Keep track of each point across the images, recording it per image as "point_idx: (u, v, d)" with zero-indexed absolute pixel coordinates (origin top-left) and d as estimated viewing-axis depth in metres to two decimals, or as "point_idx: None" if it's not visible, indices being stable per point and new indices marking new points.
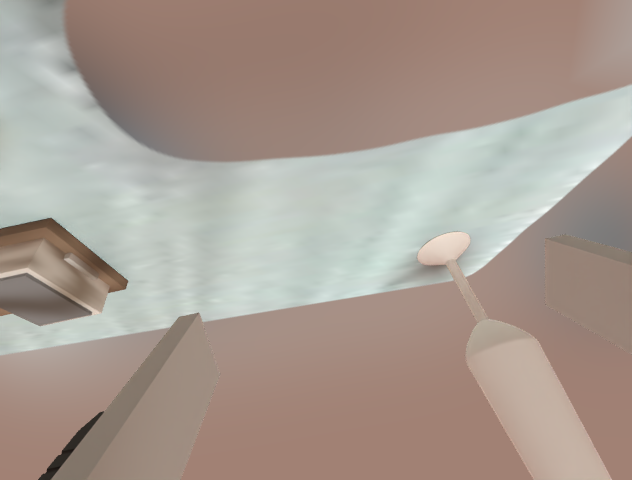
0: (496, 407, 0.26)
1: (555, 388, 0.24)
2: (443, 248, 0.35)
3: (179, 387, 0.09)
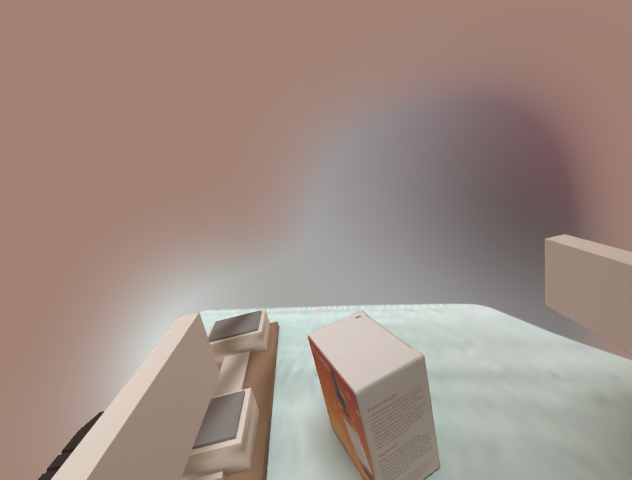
0: None
1: None
2: None
3: (179, 387, 0.09)
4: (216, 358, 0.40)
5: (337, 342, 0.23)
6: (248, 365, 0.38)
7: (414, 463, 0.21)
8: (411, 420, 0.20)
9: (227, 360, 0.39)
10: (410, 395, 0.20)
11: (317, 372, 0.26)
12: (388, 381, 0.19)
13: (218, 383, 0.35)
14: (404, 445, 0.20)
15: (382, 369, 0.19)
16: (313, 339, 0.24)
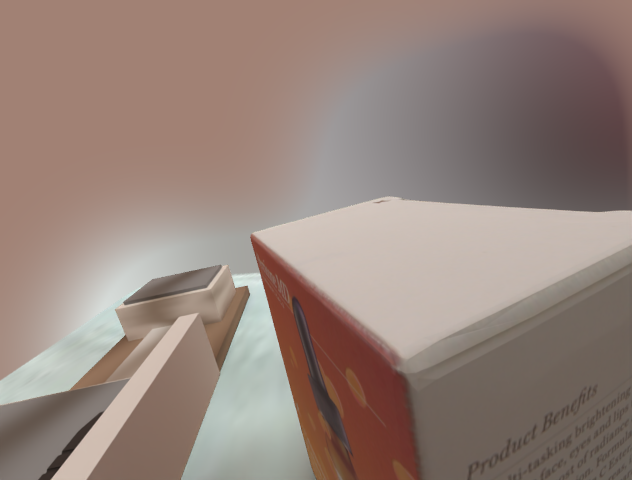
0: None
1: None
2: None
3: (179, 387, 0.09)
4: (138, 330, 0.25)
5: (324, 231, 0.08)
6: None
7: None
8: None
9: (153, 333, 0.24)
10: None
11: None
12: (578, 316, 0.03)
13: (121, 368, 0.20)
14: None
15: (530, 263, 0.04)
16: (260, 236, 0.09)
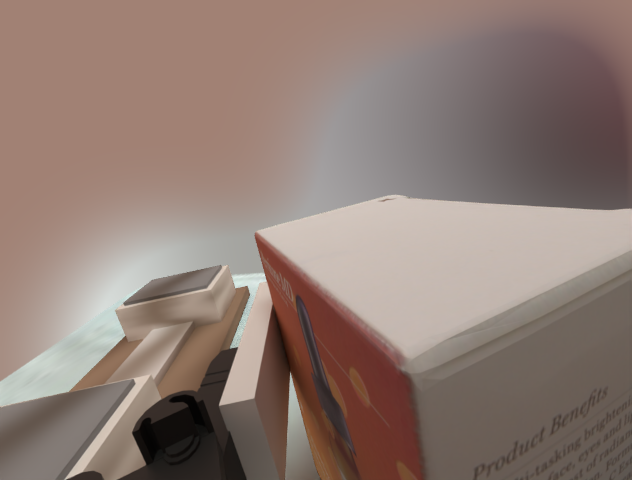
0: None
1: None
2: None
3: (278, 334, 0.10)
4: (138, 331, 0.25)
5: (328, 229, 0.07)
6: (184, 343, 0.23)
7: None
8: None
9: (153, 334, 0.24)
10: None
11: None
12: (588, 316, 0.03)
13: (121, 369, 0.20)
14: None
15: (539, 262, 0.04)
16: (264, 234, 0.09)
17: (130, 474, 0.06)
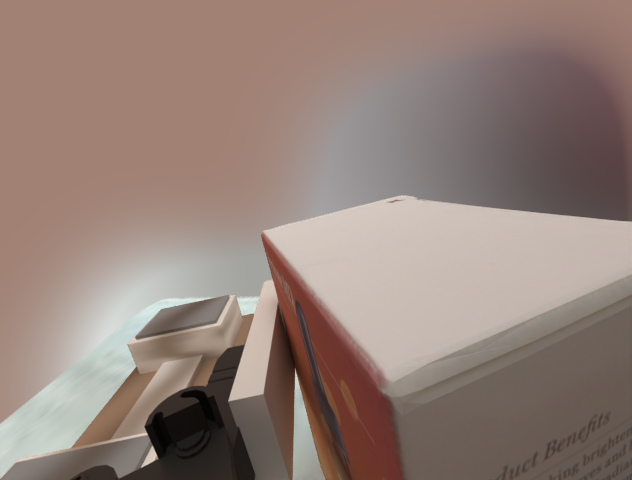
0: None
1: None
2: None
3: (283, 332, 0.10)
4: (150, 364, 0.26)
5: (332, 232, 0.07)
6: (195, 379, 0.24)
7: None
8: None
9: (165, 368, 0.25)
10: None
11: None
12: (589, 340, 0.03)
13: (136, 408, 0.21)
14: None
15: (539, 279, 0.04)
16: (270, 234, 0.09)
17: (141, 469, 0.06)
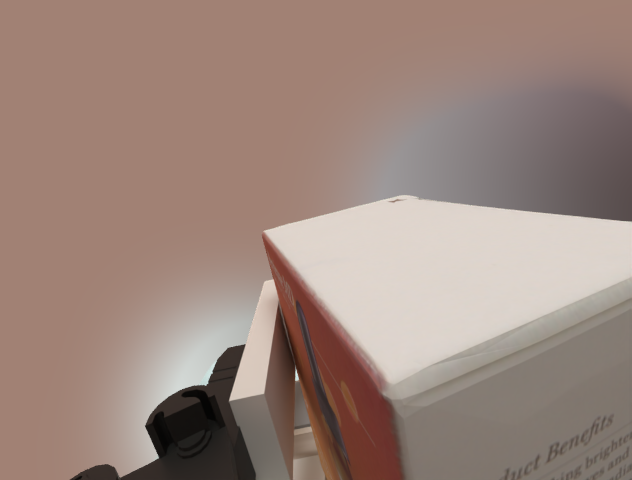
0: None
1: None
2: None
3: (284, 332, 0.10)
4: None
5: (333, 232, 0.07)
6: None
7: None
8: None
9: None
10: None
11: (287, 333, 0.11)
12: (591, 342, 0.03)
13: None
14: None
15: (541, 280, 0.04)
16: (271, 235, 0.09)
17: (142, 468, 0.06)
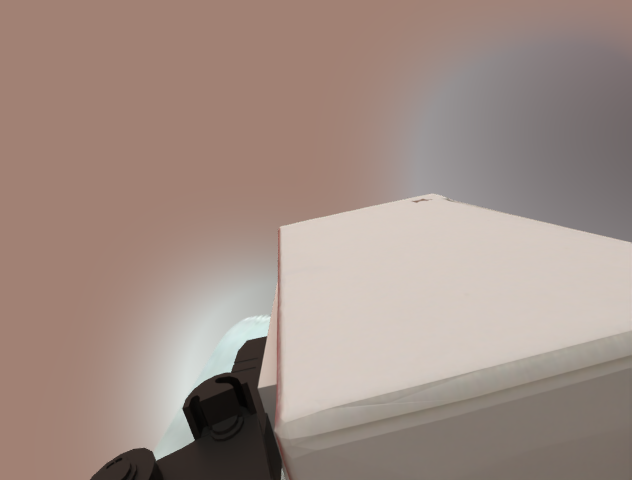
0: None
1: None
2: None
3: None
4: None
5: (336, 235, 0.07)
6: None
7: None
8: None
9: None
10: None
11: None
12: (548, 406, 0.03)
13: None
14: None
15: (506, 322, 0.03)
16: (283, 232, 0.09)
17: (175, 452, 0.06)
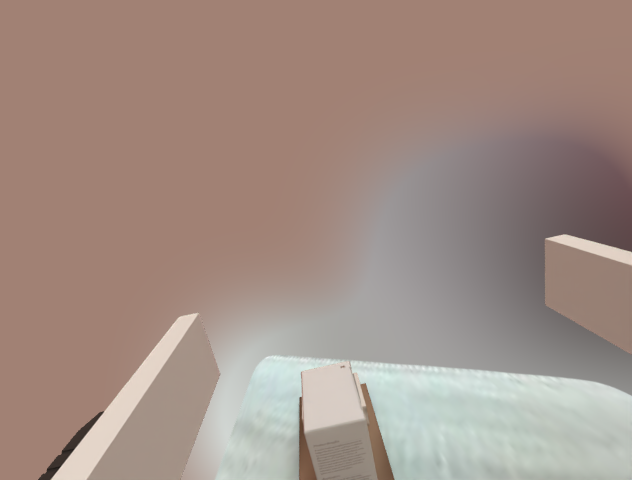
0: None
1: None
2: None
3: (179, 387, 0.09)
4: None
5: (316, 385, 0.30)
6: None
7: None
8: (353, 462, 0.26)
9: None
10: (351, 444, 0.26)
11: None
12: (331, 430, 0.25)
13: None
14: (346, 478, 0.27)
15: (330, 420, 0.26)
16: (302, 376, 0.32)
17: None
